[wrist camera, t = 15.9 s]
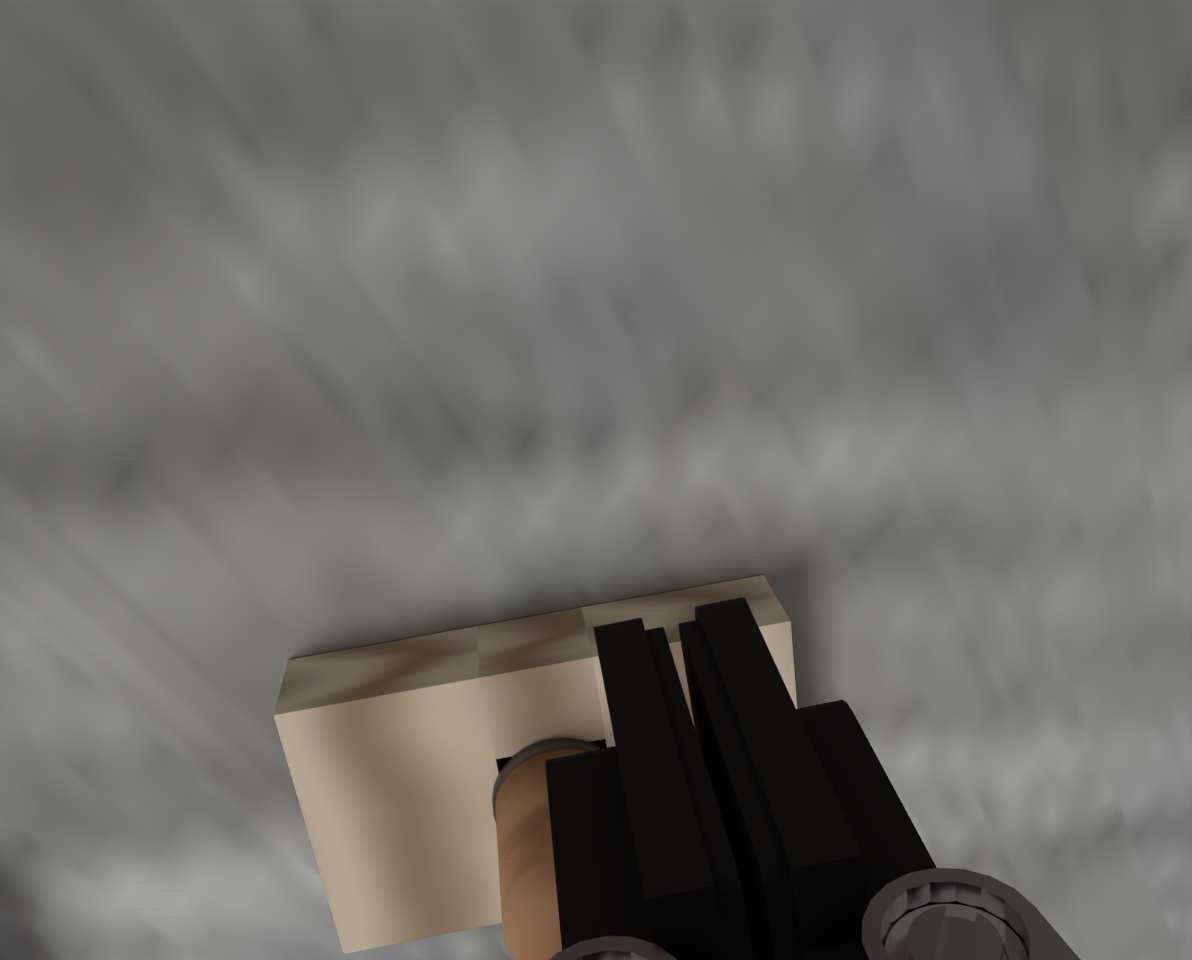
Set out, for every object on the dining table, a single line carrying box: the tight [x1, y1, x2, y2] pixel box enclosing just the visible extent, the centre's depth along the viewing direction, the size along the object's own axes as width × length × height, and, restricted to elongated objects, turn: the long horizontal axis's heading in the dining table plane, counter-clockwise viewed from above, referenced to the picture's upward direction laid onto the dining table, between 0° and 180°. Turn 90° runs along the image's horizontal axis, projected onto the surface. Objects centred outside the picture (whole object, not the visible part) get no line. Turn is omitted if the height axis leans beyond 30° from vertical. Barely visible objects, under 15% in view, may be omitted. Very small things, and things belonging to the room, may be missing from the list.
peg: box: [492, 738, 602, 960], centre depth 43 cm, size 5×5×11 cm
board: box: [274, 575, 797, 954], centre depth 46 cm, size 20×12×4 cm, turn 98°
